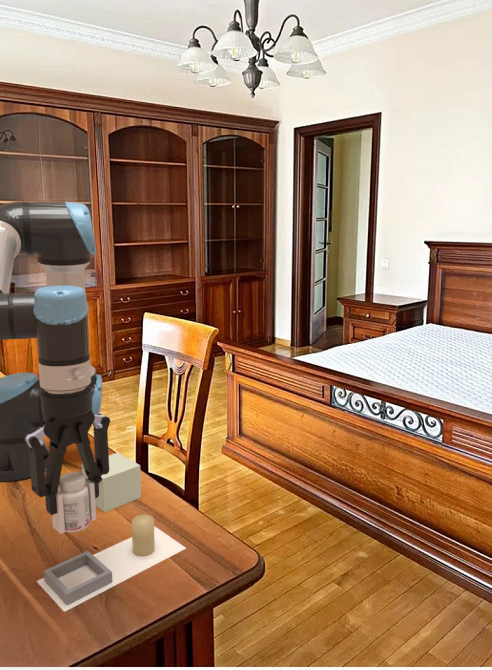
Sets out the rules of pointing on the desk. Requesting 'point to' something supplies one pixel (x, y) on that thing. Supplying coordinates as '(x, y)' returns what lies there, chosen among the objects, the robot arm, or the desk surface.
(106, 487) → the housing
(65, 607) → the board
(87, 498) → the pill bottle
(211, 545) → the desk surface
